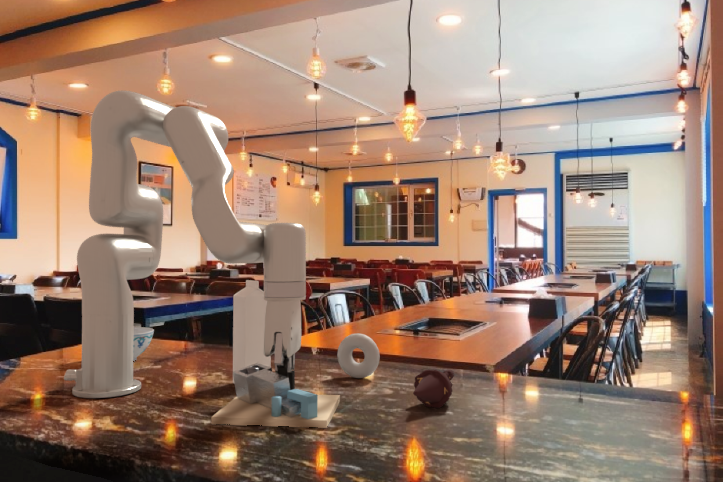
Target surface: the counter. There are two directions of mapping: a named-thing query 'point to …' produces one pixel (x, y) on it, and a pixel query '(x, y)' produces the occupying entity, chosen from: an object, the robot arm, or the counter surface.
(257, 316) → the milk
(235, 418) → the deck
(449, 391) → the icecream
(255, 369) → the pintle
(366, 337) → the donut
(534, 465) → the counter surface
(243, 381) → the link
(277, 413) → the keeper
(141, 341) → the chinaware
